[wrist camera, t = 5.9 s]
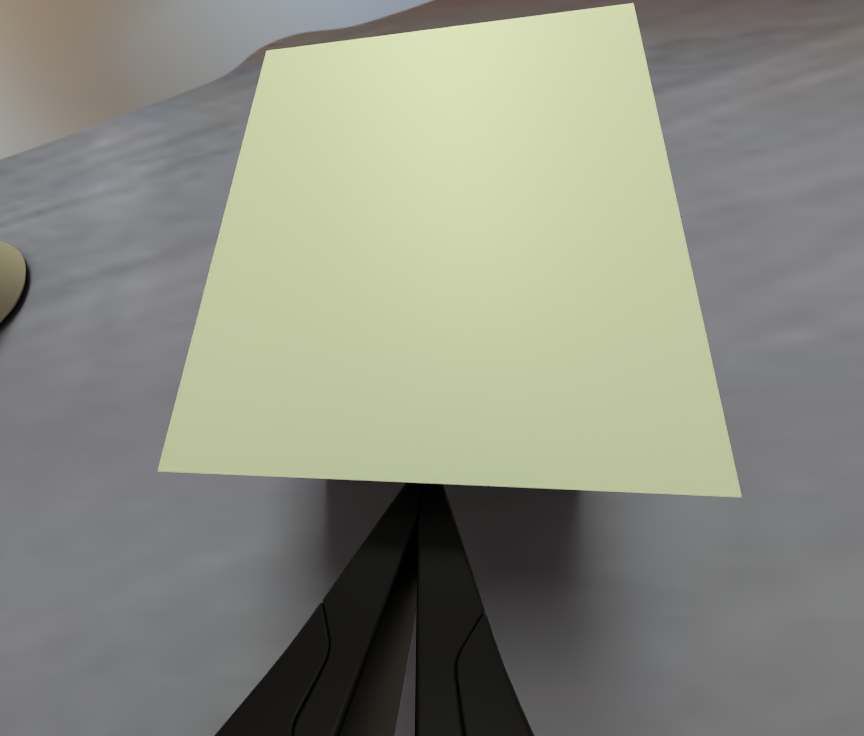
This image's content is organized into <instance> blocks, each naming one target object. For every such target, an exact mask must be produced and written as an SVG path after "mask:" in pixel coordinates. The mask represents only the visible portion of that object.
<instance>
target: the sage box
mask: <svg viewBox="0 0 864 736" xmlns="http://www.w3.org/2000/svg"><path fill="white" fill-rule="evenodd" d="M158 471H161V472H184V473H206V474H228V475H251V476H273V477H296V478H318V479H341V480H363V481H386V482H408V483H431V484H453V485H475V486H498V487H520V488H543V489H565V490H588V491H610V492H633V493H655V494H678V495H700V496H722V497H742V496H741V492H740V487H739V482H738V478H737V473H736V469H735V464H734V460H733V455H732V450H731V446H730V441H729V437H728V432H727V428H726V423H725V418H724V414H723V409H722V405H721V400H720V396H719V391H718V387H717V382H716V377H715V373H714V368H713V364H712V359H711V355H710V350H709V345H708V341H707V336H706V332H705V327H704V323H703V318H702V314H701V309H700V304H699V300H698V295H697V291H696V286H695V282H694V277H693V272H692V268H691V263H690V259H689V254H688V250H687V245H686V240H685V236H684V231H683V227H682V222H681V218H680V213H679V209H678V204H677V199H676V195H675V190H674V186H673V181H672V177H671V172H670V167H669V163H668V158H667V154H666V149H665V145H664V140H663V136H662V131H661V126H660V122H659V117H658V113H657V108H656V104H655V99H654V94H653V90H652V85H651V81H650V76H649V72H648V67H647V63H646V58H645V53H644V49H643V44H642V40H641V35H640V31H639V26H638V21H637V17H636V12H635V8H634V3H629V4H622V5H614V6H606V7H599V8H591V9H583V10H576V11H568V12H560V13H553V14H545V15H537V16H530V17H522V18H514V19H507V20H499V21H491V22H484V23H476V24H468V25H461V26H453V27H445V28H438V29H430V30H422V31H415V32H407V33H399V34H392V35H384V36H376V37H369V38H361V39H353V40H346V41H338V42H330V43H323V44H315V45H307V46H299V47H292V48H284V49H276V50H269V51H266V54H265V58H264V62H263V66H262V70H261V74H260V77H259V81H258V85H257V89H256V93H255V97H254V101H253V104H252V108H251V112H250V116H249V120H248V124H247V128H246V131H245V135H244V139H243V143H242V147H241V151H240V155H239V158H238V162H237V166H236V170H235V174H234V178H233V182H232V186H231V189H230V193H229V197H228V201H227V205H226V209H225V213H224V216H223V220H222V224H221V228H220V232H219V236H218V240H217V243H216V247H215V251H214V255H213V259H212V263H211V267H210V270H209V274H208V278H207V282H206V286H205V290H204V294H203V297H202V301H201V305H200V309H199V313H198V317H197V321H196V324H195V328H194V332H193V336H192V340H191V344H190V348H189V351H188V355H187V359H186V363H185V367H184V371H183V375H182V379H181V382H180V386H179V390H178V394H177V398H176V402H175V406H174V409H173V413H172V417H171V421H170V425H169V429H168V433H167V436H166V440H165V444H164V448H163V452H162V456H161V460H160V463H159V467H158Z"/></svg>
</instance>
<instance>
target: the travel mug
mask: <svg viewBox="0 0 864 736" xmlns="http://www.w3.org/2000/svg"><path fill="white" fill-rule="evenodd" d="M25 275H26V266H25V261H24V258H23V256H22V255H21V253H20V252H19V251H18V250H17V249H16V248H14V247H12V246H10V245H8V244H6V243H4V242H2V241H0V324H1V322H2V321H3V320H4V319H5V318H6V317H7V316H8V315H9V314H10V313H11V311H12V310H13V309H14V308H15V306H16V304H17V303H18V301H19V300H20V297H21V294H22V292H23V289H24V286H25Z"/></svg>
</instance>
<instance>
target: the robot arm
mask: <svg viewBox="0 0 864 736" xmlns="http://www.w3.org/2000/svg"><path fill="white" fill-rule="evenodd" d="M416 608H417V621H416V694H415V736H534V734H533V732H532V730H531V728H530V725H529V723H528V721H527V719H526V716H525V714H524V712H523V710H522V707H521V705H520V703H519V700H518V698H517V696H516V693H515V691H514V688H513V686H512V684H511V681H510V679H509V677H508V674H507V672H506V669H505V667H504V664H503V661H502V659H501V656H500V653H499V650H498V647H497V645H496V642H495V639H494V636H493V633H492V630H491V627H490V624H489V621H488V618H487V615H486V614H485V610H484V607H483V604H482V601H481V597H480V594H479V591H478V588H477V585H476V582H475V579H474V576H473V573H472V570H471V567H470V564H469V561H468V558H467V555H466V552H465V549H464V546H463V543H462V540H461V537H460V534H459V531H458V528H457V525H456V522H455V519H454V516H453V513H452V510H451V507H450V504H449V501H448V498H447V495H446V492H445V488H444V485H443V484H431V483H408V482H406V483H405V485H404V486H403V488H402V489H401V491H400V492H399V493H398V495H397V496H396V498H395V499H394V500H393V502H392V503H391V505H390V506H389V507H388V509H387V510H386V512H385V513H384V514H383V516H382V517H381V519H380V520H379V521H378V523H377V524H376V526H375V527H374V528H373V530H372V531H371V533H370V534H369V536H368V537H367V538H366V540H365V541H364V543H363V544H362V545H361V547H360V548H359V550H358V551H357V552H356V554H355V555H354V557H353V558H352V559H351V561H350V562H349V564H348V565H347V566H346V568H345V569H344V571H343V572H342V573H341V575H340V576H339V578H338V579H337V581H336V582H335V583H334V585H333V586H332V588H331V589H330V590H329V592H328V593H327V595H326V596H325V597H324V599H323V603H320V604H319V606H318V607H317V608H316V610H315V611H314V613H313V614H312V615H311V617H310V618H309V620H308V621H307V622H306V624H305V625H304V626H303V628H302V629H301V630H300V632H299V633H298V635H297V636H296V637H295V639H294V640H293V641H292V643H291V644H290V645H289V647H288V648H287V649H286V650H285V652H284V653H283V654H282V655H281V657H280V658H279V659H278V660H277V661H276V663H275V664H274V665H273V666H272V668H271V669H270V670H269V671H268V673H267V674H266V675H265V676H264V677H263V679H262V680H261V681H260V682H259V683H258V685H257V686H256V687H255V688H254V689H253V691H252V692H251V693H250V694H249V695H248V696H247V698H246V699H245V700H244V701H243V702H242V704H241V705H240V706H239V707H238V708H237V710H236V711H235V712H234V713H233V714H232V715H231V717H230V718H229V719H228V720H227V721H226V723H225V724H224V725H223V726H222V727H221V728H220V730H219V731H218V732H217V733H216V734H215V736H394V732H395V727H396V721H397V715H398V710H399V704H400V698H401V693H402V687H403V681H404V676H405V670H406V664H407V659H408V653H409V647H410V642H411V636H412V630H413V625H414V619H415V613H416Z"/></svg>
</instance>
